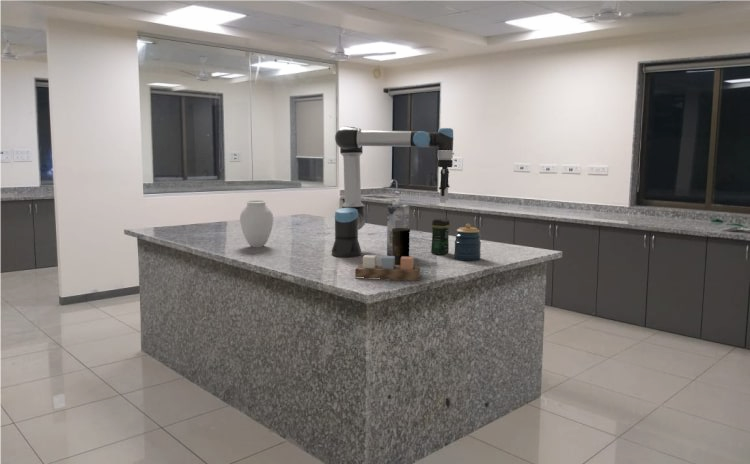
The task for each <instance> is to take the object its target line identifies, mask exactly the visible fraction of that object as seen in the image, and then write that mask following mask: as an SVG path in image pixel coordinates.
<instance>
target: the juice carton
mask: <svg viewBox="0 0 750 464" xmlns="http://www.w3.org/2000/svg"><path fill="white" fill-rule="evenodd" d="M386 211H387V213H386V214H387V216H386V217H387V218H386V220H387V221H386V222H387V223H386V225H387V227H386V228H387V229H386V256H392V237H393V234H392V233H393V232H392V229H393V228H408V229H410V205H409V204H399V202H392V204H391V205H389V204H387V206H386Z"/></svg>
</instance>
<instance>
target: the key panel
mask: <svg viewBox="0 0 750 464" xmlns="http://www.w3.org/2000/svg"><path fill="white" fill-rule="evenodd" d="M400 266H401V265H395V269H381V267H382V264H378V263H376V268H363V263H359V265H358V266H356V267H355V277H364V278H380V279H379V280H384V279H393V280H392V281H407V280H410V281H411V282H412V281H413V282H418V280H419V278H420V276H421V266H420V265H414V270H402V269H400ZM410 281H409V282H410Z"/></svg>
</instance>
